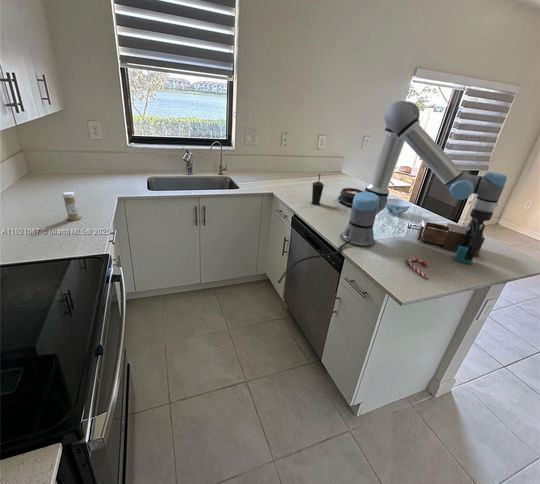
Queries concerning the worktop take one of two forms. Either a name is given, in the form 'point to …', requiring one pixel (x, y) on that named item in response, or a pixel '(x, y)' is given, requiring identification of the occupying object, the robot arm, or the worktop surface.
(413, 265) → the candy cane
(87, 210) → the worktop surface
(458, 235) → the cabinet
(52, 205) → the worktop surface
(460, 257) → the teal block
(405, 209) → the chinaware
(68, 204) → the sprinkles bottle
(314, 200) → the drinking cup
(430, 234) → the drawer
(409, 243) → the worktop surface
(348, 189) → the casserole
